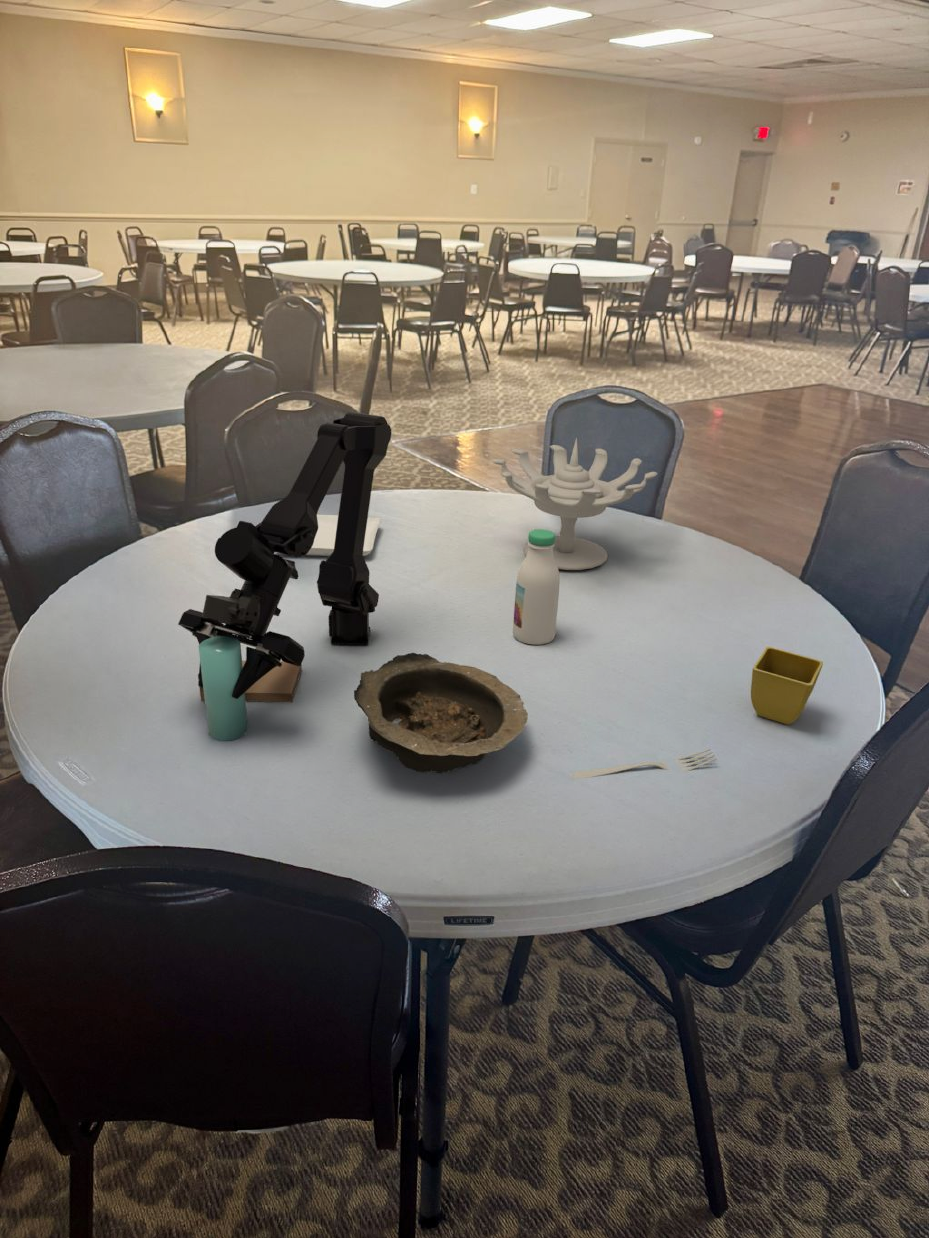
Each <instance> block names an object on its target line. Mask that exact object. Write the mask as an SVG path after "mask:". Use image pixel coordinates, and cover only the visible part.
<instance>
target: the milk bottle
mask: <svg viewBox="0 0 929 1238" xmlns="http://www.w3.org/2000/svg"><path fill="white" fill-rule="evenodd" d="M555 536H556V534H555V532H553V531H551V530H549V529H548V530H547V529H538V528H537V529H533V530H531V531H529V532H528V538H527V539H528V542H527V543H528V545H529V550H528V553H527V555H525V557H524V559H523V560H522V563H521V564H520V567H519V569H518V571H517V576H516V583H515V596H514V607H513V608H514V609H513V624H512V634H513V637H514V638H515V639H516V640H517V641H519V642H521V643H523V644H527V645H534V646H535V645H536V646H537V645H539V646H540V645H546V644H548V643H551V642H552V641H553V640H554V638H555V636H556V628H557V627H556V626H557V617H558V609H559V607H558V606H559V597H560V584H561V583H560V582H561V581H560V579H561V578H560V572H559V569H558V567H557V564H556V562H555V559H554V555H553V547H554V546H555V545H554V543H555Z"/></svg>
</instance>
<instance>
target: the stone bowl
mask: <svg viewBox="0 0 929 1238" xmlns="http://www.w3.org/2000/svg"><path fill="white" fill-rule="evenodd" d="M353 696H354V697H353V699H354V701H355V702H356V704H357V705H358V708H360V709H361V710H362V712H363V713H364V715H365V716H366V717H367V722H368V735H369V738H370V740H371V741H372V742H375V743H376V744H377V745H378V747H381V749H383V750H386V751H387V752H389V753H393V754H394V755H395V756H396V758H397V759H398V761H399V762H400V763H401V764H402V765H403V766H404V767H405V768H406V769H410V770H412V771H415V772H417V773H418V772H419V773H428V772H429V773H430V772H434V773H437V774H444V773H445V774H446V773H448V772H452V771H454V770H458V769H462V768H463V769H464V768H467V767H468V766H471V765H472V766H473V765H476V764H478V763H479V762H480V761H482V759H483V758H484V757H485V756H486V755H487V754H488V753H490V752H497V751H499V750H502V749H504V748H505V747H506V745H507V744H508V743H510V742H511V741H512V740H514V739H515V738H516V737H517V736H518V735H519V734H521V733H522V731H523V729H524V728H525V726H526V724H527V722H528V720H529V719H528V718H529V715H528V714H529V713H528V711H527V709H525V707H524V705H525V703H524V701H522V698H521V695H520V694H518V693H517V692H516V690H514V689H513V688H512V687H510V686H509V685H507V684H505V683H504V682H502V681H501V680H500V679H499V678H498V677H497V675H493V674H491V673H489V672H487V671H485V670H482V669H480V668H478V667H474V666H470V665H463V664H458V663H453V662H446V661H444V662H441V661H440V660H438V659H437V658H435V657H433V656H431V655H429V654H427V653H423V654H422V653H416V652H410V653H406V654H403V655H401V654H400V655H398V654H397V655H396V656H393V657H392V660H388V661H387V662H386V663H383V664H382V665H381V666H380V667H379V669H376V670H373V669H371V670H368V671H367V670H365V671H364V672H361V673H360V679H359V684H358V686H357V687H356V689H354V690H353ZM395 720H400V721H399V722H394V721H395Z"/></svg>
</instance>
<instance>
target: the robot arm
mask: <svg viewBox="0 0 929 1238" xmlns="http://www.w3.org/2000/svg"><path fill="white" fill-rule="evenodd" d="M391 427H392V426H390V424H388V421H387V419H386V418H385V417H384V416H380V415H376V414H368V413H361V412H355V411H348V412H347V413H345V415H344V417H341V418H335V419H330V421H329V422H326V423H323V424H321V425H320V426H319V427H318V430H317V436H316V437H317V438H316V441H315V442H314V444H313V446H312V448H311V450H310V452H309V454H308V456H307V458H306V460H305V462H304V463H303V465H302V467H301V470H300V472H299V473H298V475H297V476H296V479H295V481H294V482H293V485H292V486H291V489H290V490H289V493H287V495H286V496H285V497H284V498H282V499H280V500H279V501H277V502H276V503H274V504H273V505H272V506H271V507H270V509H269V510H268V512H267V513H266V515H265V516H264V518H263V519H262V520H261V522H259V523H258V524H256V525H254V524H253V523H252V522H248V521H244V520H239V521H238V524H237V526H236V527H234V528H230V529H228V530H227V531H225V532H224V533H222V535H221V536H220V537H218V538H217V540H216V542H215V545H214V554H215V557H216V559H217V560H218V562H220V563H221V564H222V565H224V566H225V567H226V568H227V569H229V570H230V571H231V572H232V573H233V574H235V575H236V576H237V577H239V578H240V579H241V580H242V581H243V580H244V581H243V583H242V586H241V589H238V588H234V590H232V591H231V594H230V596H224V595H214V594H206V595H205V600H204V605H203V609H202V611H198V610H196V609H192V608H189V609H188V610H186V611H184V612H183V613H182V615H180V618H179V621H178V623H177V625H178V626H180V627H181V628H183V629H185V630H186V631H188V632H190V633H191V634H192V637H195V638H196V639H197V641H198V642H197V643H198V646H199V645H200V643H201V642H203V641H204V640H206V639H209V638H212V637H218V636H229V637H233V638H236V639H238V640H239V641H240V644H243V645H246V648H245V658H246V659H245V661H246V662H245V664H244V666H243V669H242V671H241V673H240V675H239V678H238V680H237V682H236V685H235V687H234V690H233V693H232V697H233V698H235V699H238V698H239V697H240V696H241V695H242V694H244V693H245V692H246V691H247V690H248V689H249V688H250V687H251V686H252V685H253V684H255V683H256V682H257V681H258V680H259V679H260V678H261V677H263V676H264V675H265V674H267V673H268V672H269V671H271V670H272V669H273V668H275V667H276V666H278V667H281V666H282V663H280V661H283V662H285V663H289V664H292V665H295V666H302V663H303V661H304V658H305V649H304V646H303V645H301V644H300V643H299V642H298V641H296V640H295V639H294V638H292V637H291V636H289V635H285V634H282V633H279V632H274V631H270V630H269V631H268V629H269V627H270V624H271V622H272V619H273V617H274V616H275V617H279V616H280V614H281V612H282V609H280V608H279V607H278V606H279V603H280V601H281V599H282V597H283V594H284V592H285V589H286V587H287V584H288V582H289V581H290V579H293V580H298V579H299V572H298V570H297V567H296V562H295V561H294V560H289V559H286V558H284V557H282V556H281V555H280V554H282V555H286V556H292V557H295V558H301V557H303V556H307V555H306V554H307V553H308V552H309V550H310V549H311V547H312V546H313V543H314V539H315V536H316V533H317V531H318V521H317V515H318V512H319V510H320V507H321V505H322V503H323V501H324V499H325V498H326V495H327V493H328V491H329V489H330V487H331V485H332V483H333V481H334V479H335V478H336V475H337V473H338V471H339V470H340V467H341V465H342V463H343V465H344V469H343V478H342V485H341V493H340V500H339V507H338V513H337V515H338V522H337V529H336V537H335V544H334V551H333V553H332V554H331V555H330V556H327V558H326V559H325V560H321V562H320V563H319V572H318V577H317V580H316V585H317V590H318V591H317V592H318V594H319V597H320V600H321V604H322V606H325V607H331V609H330V610H329V614H328V636H329V637H330V638H331V640H330V645H339V646H340V645H342V646H344V645H345V646H347V645H349V646H351V645H352V646H367V645H368V644H369V640H370V634H371V627H370V614H371V613H374V612H375V611H376V608H377V607H378V604H379V596H380V594H379V592H378V591H376V590H375V588H373V586H371V585H370V570H369V567H368V565H367V562H366V559H365V556H363V548H364V540H365V533H366V526H367V519H368V517H369V511H370V504H371V498H372V497H371V496H372V495H371V494H372V488H373V482H374V475H375V470H376V469H377V468H378V466H379V464H380V463H381V462H382V461H383V460H384V459H385V457H386V455H387V453H388V448H389V443H390V442H391V438H392V433H393V432H392V428H391ZM275 553H276V554H275ZM277 553H278V554H277ZM198 674H199V680H198V682H197V683H198V684H197V685H198V688H199V687H201V688H203V681H202V672H201V664H200V663H199V671H198Z"/></svg>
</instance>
